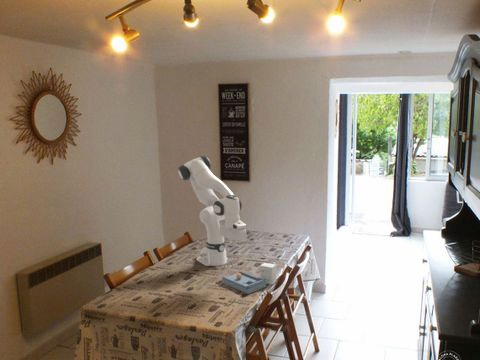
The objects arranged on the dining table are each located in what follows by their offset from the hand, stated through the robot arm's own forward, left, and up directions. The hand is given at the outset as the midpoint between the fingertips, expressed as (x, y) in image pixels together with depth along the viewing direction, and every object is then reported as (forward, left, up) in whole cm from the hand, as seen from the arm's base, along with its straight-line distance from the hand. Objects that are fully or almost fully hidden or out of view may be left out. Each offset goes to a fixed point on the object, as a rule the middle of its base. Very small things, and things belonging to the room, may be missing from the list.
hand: (232, 246), depth 247 cm
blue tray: (+9, 0, -21) cm, 23 cm away
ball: (+5, 0, -17) cm, 18 cm away
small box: (+16, +13, -21) cm, 30 cm away
